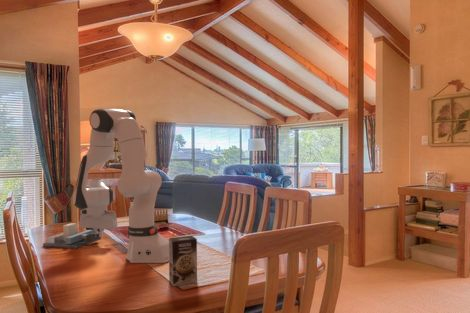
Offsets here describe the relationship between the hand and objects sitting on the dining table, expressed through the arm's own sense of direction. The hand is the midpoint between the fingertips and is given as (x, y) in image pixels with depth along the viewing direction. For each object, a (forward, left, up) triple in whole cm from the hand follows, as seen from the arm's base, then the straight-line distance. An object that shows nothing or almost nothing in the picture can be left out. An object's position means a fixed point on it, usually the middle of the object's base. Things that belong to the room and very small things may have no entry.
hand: (98, 236), depth 187 cm
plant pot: (+21, -26, -4) cm, 34 cm away
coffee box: (-64, +41, -4) cm, 76 cm away
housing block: (+17, 0, -2) cm, 17 cm away
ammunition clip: (-16, -39, -4) cm, 42 cm away
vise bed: (+15, 0, -4) cm, 16 cm away
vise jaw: (+7, 0, -2) cm, 7 cm away
